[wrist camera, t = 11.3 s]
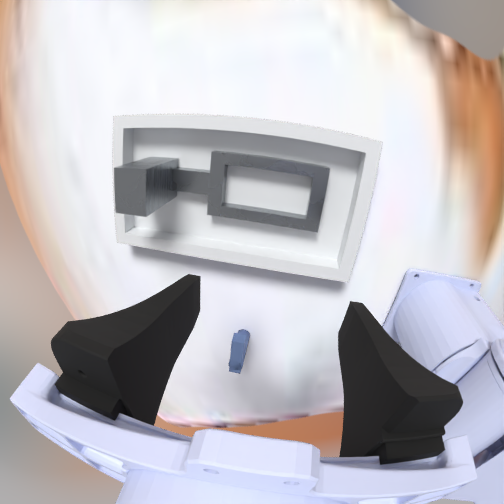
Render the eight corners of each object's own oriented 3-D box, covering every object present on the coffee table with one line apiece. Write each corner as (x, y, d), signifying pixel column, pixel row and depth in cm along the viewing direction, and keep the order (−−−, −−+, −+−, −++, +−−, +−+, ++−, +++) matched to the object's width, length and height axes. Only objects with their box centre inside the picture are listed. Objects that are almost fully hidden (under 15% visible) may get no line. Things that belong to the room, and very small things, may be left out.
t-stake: (253, 311, 25) (245, 343, 21) (248, 342, 27) (241, 373, 23) (240, 309, 25) (230, 340, 21) (236, 340, 27) (228, 371, 23)
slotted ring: (328, 166, 18) (339, 179, 14) (316, 227, 20) (322, 258, 16) (151, 146, 19) (113, 155, 15) (150, 202, 21) (116, 224, 17)
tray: (374, 140, 17) (382, 141, 15) (344, 269, 22) (348, 282, 20) (127, 115, 19) (113, 116, 17) (128, 233, 23) (116, 242, 22)
